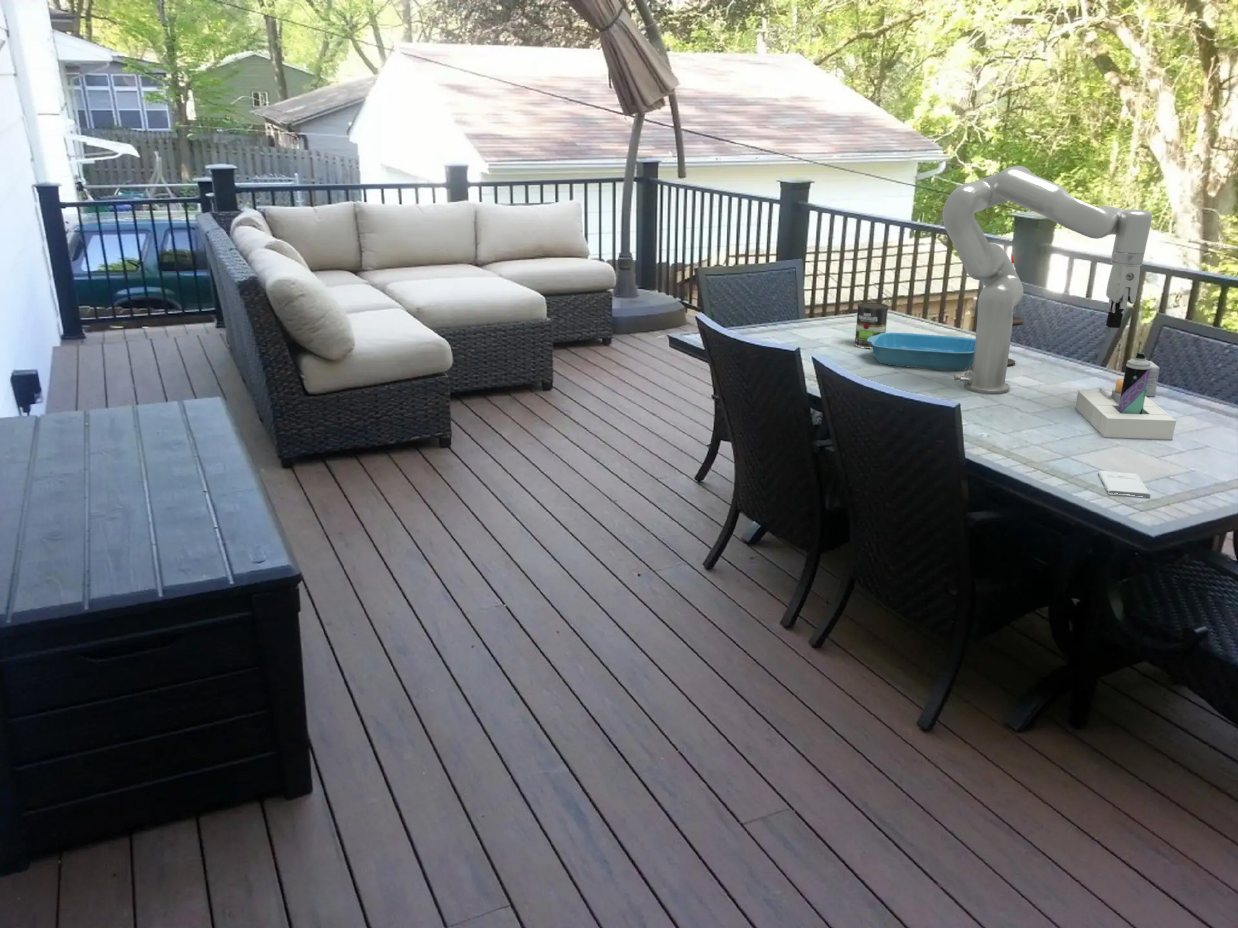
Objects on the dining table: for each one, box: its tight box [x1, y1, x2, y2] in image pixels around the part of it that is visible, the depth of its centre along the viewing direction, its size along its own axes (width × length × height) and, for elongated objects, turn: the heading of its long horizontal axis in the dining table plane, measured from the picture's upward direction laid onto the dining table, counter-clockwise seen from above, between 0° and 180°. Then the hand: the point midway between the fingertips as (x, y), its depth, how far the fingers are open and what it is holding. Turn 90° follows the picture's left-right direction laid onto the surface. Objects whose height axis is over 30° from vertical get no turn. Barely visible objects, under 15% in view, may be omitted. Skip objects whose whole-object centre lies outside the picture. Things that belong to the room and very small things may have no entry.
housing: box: [1074, 387, 1177, 441], centre depth 251 cm, size 16×25×6 cm, turn 171°
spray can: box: [1118, 351, 1151, 414], centre depth 244 cm, size 6×6×20 cm
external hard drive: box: [1097, 470, 1151, 499], centre depth 211 cm, size 2×8×12 cm
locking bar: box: [1111, 378, 1124, 404], centre depth 251 cm, size 3×7×5 cm, turn 171°
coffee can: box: [854, 302, 890, 350], centre depth 331 cm, size 10×10×14 cm
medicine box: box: [1145, 360, 1160, 398], centre depth 276 cm, size 8×4×9 cm, turn 169°
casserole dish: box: [867, 331, 976, 371], centre depth 311 cm, size 37×22×7 cm, turn 66°
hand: (1112, 326), depth 259 cm, fingers closed
